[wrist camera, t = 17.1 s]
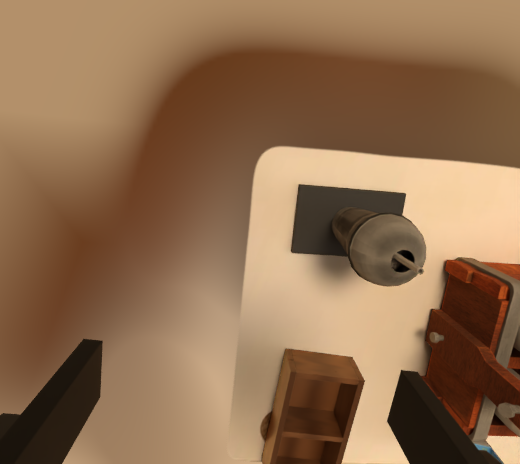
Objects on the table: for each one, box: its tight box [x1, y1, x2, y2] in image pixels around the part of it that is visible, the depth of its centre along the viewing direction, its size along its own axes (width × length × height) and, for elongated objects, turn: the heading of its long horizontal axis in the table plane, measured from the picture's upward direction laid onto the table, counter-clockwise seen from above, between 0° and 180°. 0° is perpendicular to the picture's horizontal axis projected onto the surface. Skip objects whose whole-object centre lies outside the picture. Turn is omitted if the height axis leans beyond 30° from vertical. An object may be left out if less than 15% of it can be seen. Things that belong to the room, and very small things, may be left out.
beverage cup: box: [332, 207, 426, 286], centre depth 35 cm, size 7×7×20 cm
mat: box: [291, 184, 406, 256], centre depth 45 cm, size 14×9×1 cm, turn 85°
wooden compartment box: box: [262, 349, 365, 464], centre depth 49 cm, size 10×19×5 cm, turn 170°
